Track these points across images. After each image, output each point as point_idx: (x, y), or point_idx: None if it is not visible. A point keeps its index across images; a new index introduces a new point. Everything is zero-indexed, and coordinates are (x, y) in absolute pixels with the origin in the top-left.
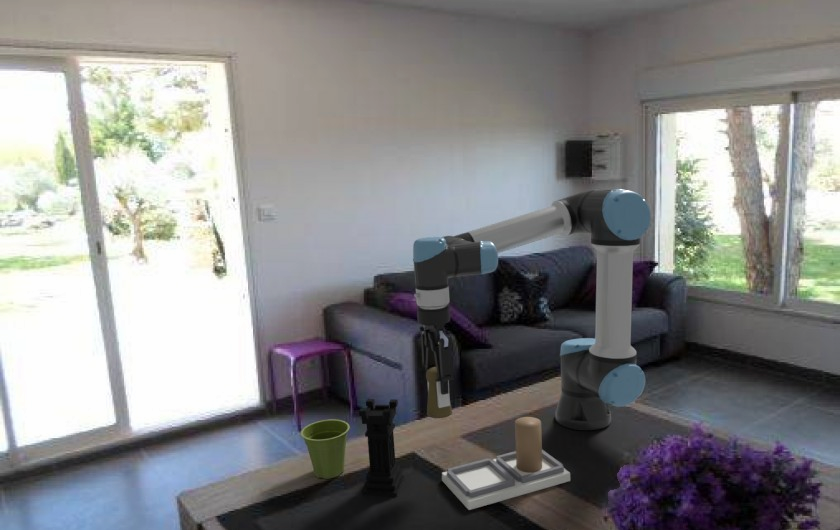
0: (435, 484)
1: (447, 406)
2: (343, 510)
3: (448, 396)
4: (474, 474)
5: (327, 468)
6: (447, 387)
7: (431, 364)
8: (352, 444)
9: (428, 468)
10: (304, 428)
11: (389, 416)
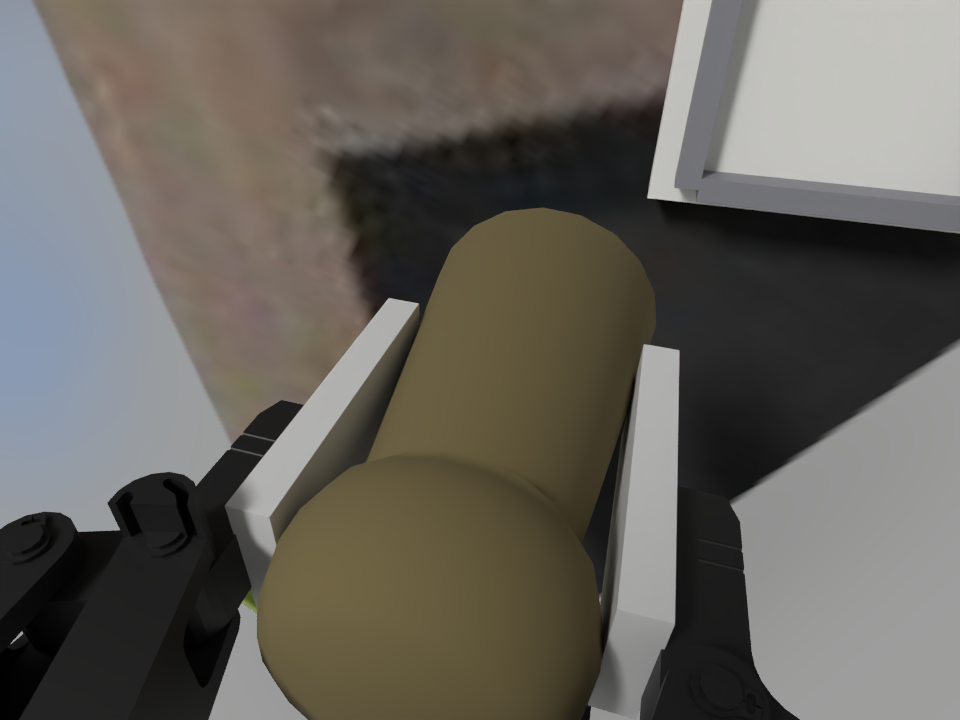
0: (658, 225)
1: (637, 343)
2: (606, 523)
3: (673, 427)
4: (794, 47)
5: None
6: (738, 582)
7: (194, 683)
8: (195, 326)
9: (507, 178)
10: (253, 608)
11: (588, 708)
